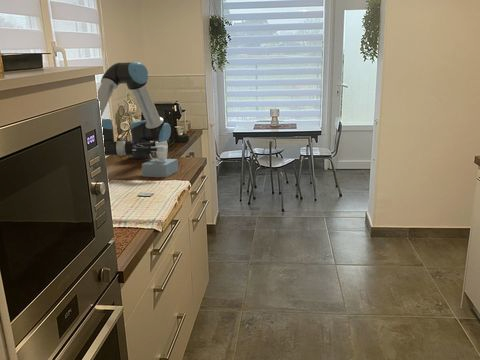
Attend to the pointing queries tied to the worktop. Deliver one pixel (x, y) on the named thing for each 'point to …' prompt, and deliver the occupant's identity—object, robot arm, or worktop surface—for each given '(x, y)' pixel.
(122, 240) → the worktop surface
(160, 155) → the cup
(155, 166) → the slate box
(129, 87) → the robot arm
